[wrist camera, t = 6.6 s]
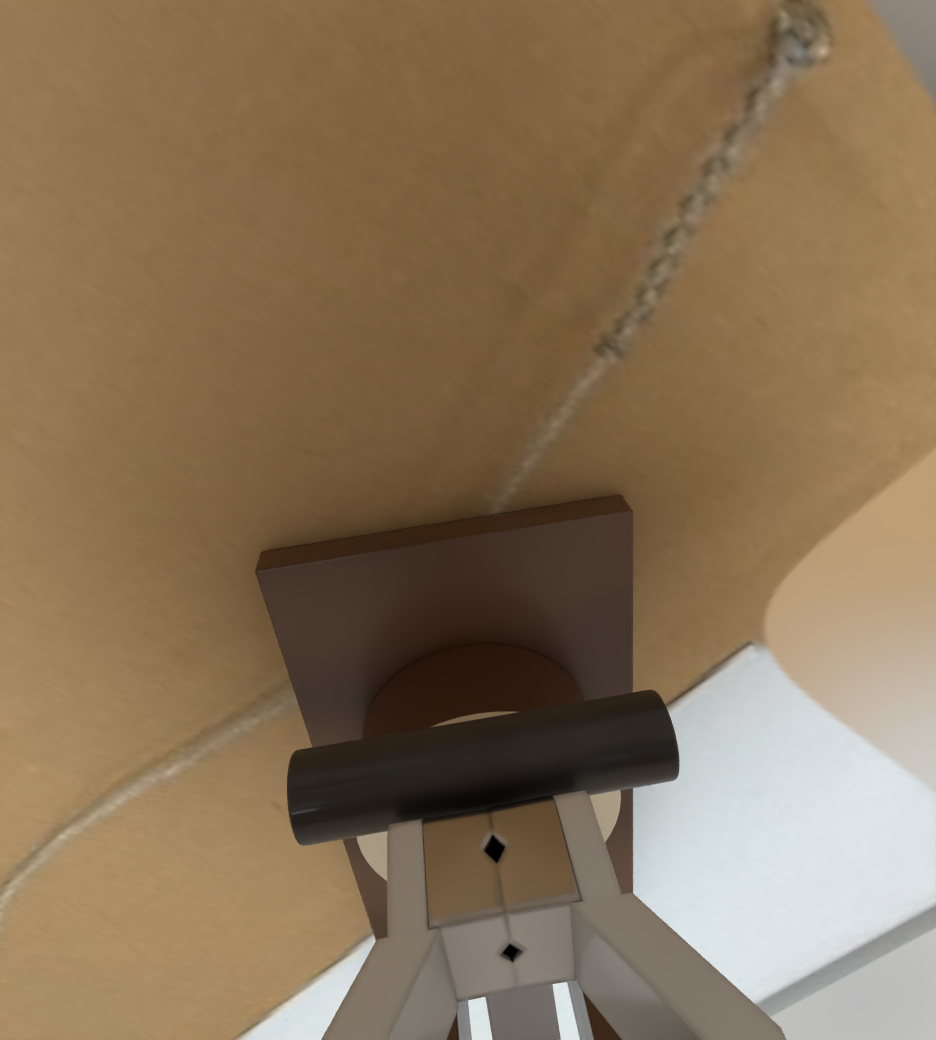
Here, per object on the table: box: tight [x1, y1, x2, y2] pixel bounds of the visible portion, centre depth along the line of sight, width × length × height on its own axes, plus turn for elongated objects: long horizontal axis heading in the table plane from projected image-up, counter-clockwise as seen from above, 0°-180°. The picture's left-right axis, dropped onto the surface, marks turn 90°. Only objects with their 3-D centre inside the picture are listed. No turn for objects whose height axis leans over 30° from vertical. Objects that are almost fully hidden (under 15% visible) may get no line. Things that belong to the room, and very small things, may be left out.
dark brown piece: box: [255, 495, 633, 1040], centre depth 17 cm, size 22×10×15 cm, turn 7°
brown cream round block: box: [357, 644, 621, 881], centre depth 20 cm, size 7×7×3 cm
